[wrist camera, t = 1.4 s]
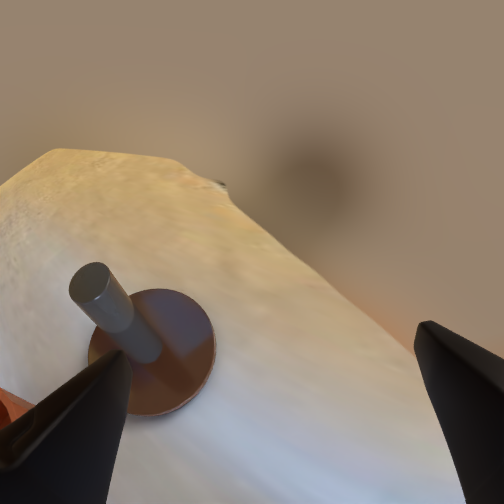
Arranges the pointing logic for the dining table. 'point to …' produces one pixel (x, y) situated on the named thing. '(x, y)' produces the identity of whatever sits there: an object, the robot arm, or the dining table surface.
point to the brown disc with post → (148, 338)
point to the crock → (11, 407)
